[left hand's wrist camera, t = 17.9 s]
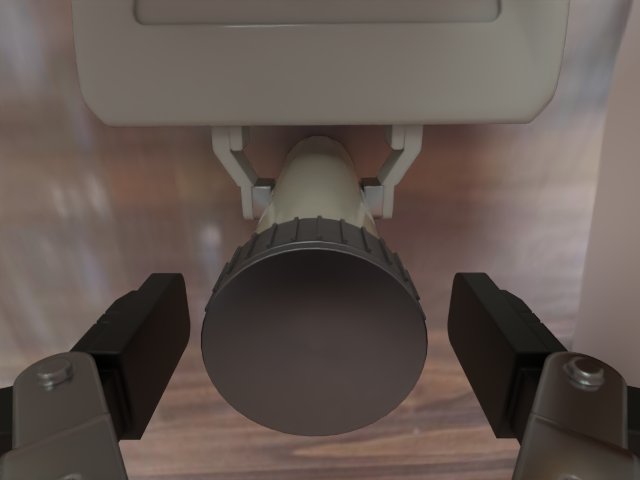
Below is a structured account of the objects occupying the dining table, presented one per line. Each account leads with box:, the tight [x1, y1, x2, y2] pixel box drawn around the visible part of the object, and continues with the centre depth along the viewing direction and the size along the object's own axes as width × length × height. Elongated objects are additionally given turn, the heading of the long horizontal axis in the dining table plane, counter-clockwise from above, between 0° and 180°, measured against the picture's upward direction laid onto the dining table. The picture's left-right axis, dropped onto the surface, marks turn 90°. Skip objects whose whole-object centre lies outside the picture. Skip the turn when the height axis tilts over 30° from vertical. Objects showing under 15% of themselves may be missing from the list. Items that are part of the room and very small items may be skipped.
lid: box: [201, 215, 428, 436], centre depth 10 cm, size 5×5×2 cm
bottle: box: [254, 136, 380, 239], centre depth 18 cm, size 4×4×18 cm
